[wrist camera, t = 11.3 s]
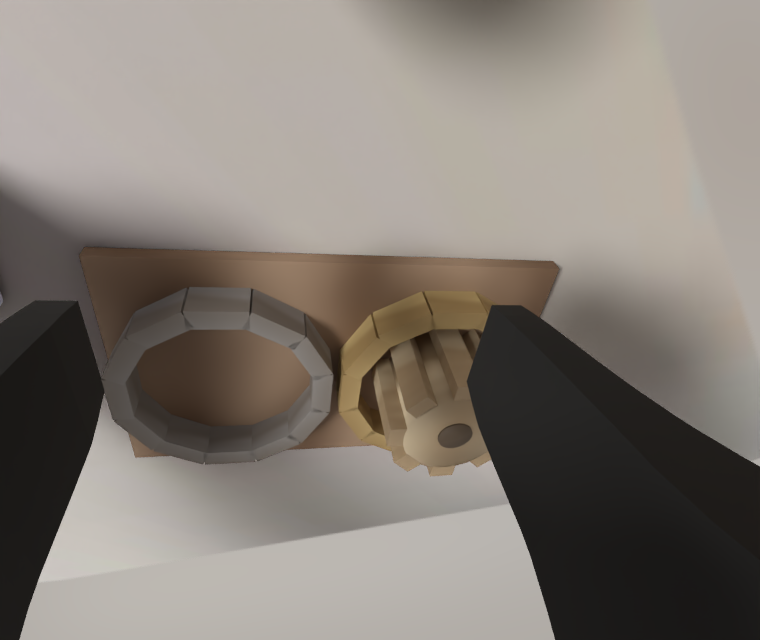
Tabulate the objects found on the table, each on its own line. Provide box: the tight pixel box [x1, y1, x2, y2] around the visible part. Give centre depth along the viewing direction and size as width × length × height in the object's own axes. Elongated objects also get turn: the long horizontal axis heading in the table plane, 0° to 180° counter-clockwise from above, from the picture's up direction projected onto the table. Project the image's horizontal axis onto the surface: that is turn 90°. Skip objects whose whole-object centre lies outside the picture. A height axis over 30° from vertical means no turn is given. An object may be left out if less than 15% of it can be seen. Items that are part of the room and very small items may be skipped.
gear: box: [372, 329, 491, 476], centre depth 21 cm, size 5×5×4 cm
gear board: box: [79, 247, 559, 464], centre depth 21 cm, size 18×11×2 cm, turn 83°
